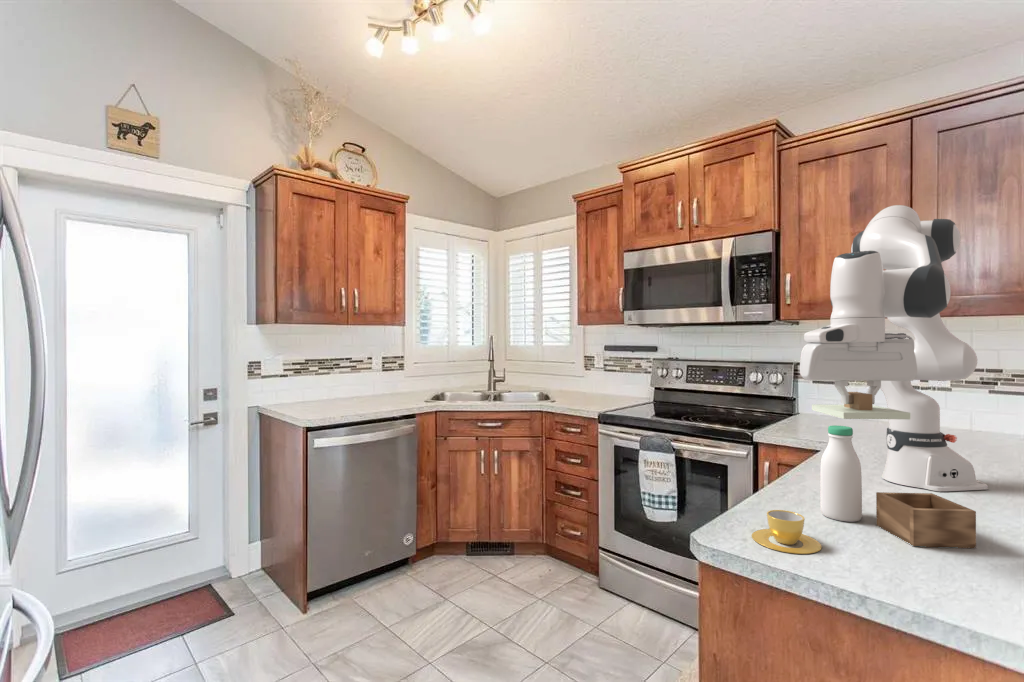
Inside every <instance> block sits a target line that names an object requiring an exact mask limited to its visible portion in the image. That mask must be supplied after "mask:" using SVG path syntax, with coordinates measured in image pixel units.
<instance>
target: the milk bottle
mask: <svg viewBox="0 0 1024 682" xmlns="http://www.w3.org/2000/svg"><path fill="white" fill-rule="evenodd" d="M827 431H828V432H827V433H828V434H827V435H828V438H829V439H828V443H827V446H826V448H825V449H824V452H823V453H822V455H821V459H820V470H819V471H820V477H819V479H820V480H819V481H820V483H819V484H820V485H819V486H820V487H819V488H820V489H819V490H820V497H819V499H820V501H819V502H820V506H819V507H820V513H821V514H822V516H824V517H827V518H828V519H832V520H836V521H841V522H846V523H847V522H851V523H852V522H853V523H854V522H855V523H856V522H860V521H861V520H862V518H863V488H862V487H863V482H862V480H863V479H862V465H861V461H860V457H859V456H858V454H857V452H856V450H855V447H854V445H853V441H852V439H853V437H854V436H853V434H854V430H853V428H852V427H850V426H846V425H828V427H827Z"/></svg>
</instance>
